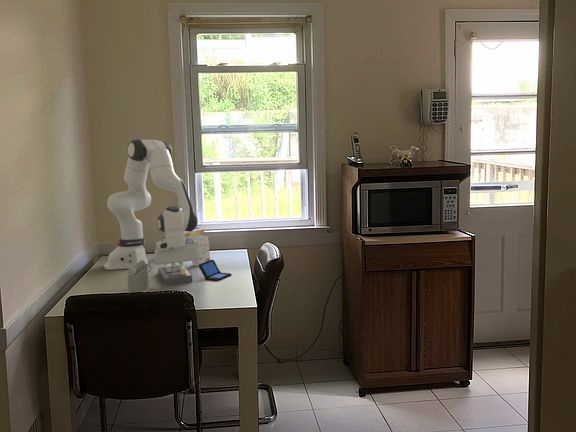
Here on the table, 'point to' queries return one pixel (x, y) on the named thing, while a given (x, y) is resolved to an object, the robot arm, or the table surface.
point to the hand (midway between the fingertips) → (177, 271)
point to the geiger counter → (138, 277)
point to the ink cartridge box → (202, 251)
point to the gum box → (193, 234)
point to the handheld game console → (212, 271)
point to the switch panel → (174, 276)
